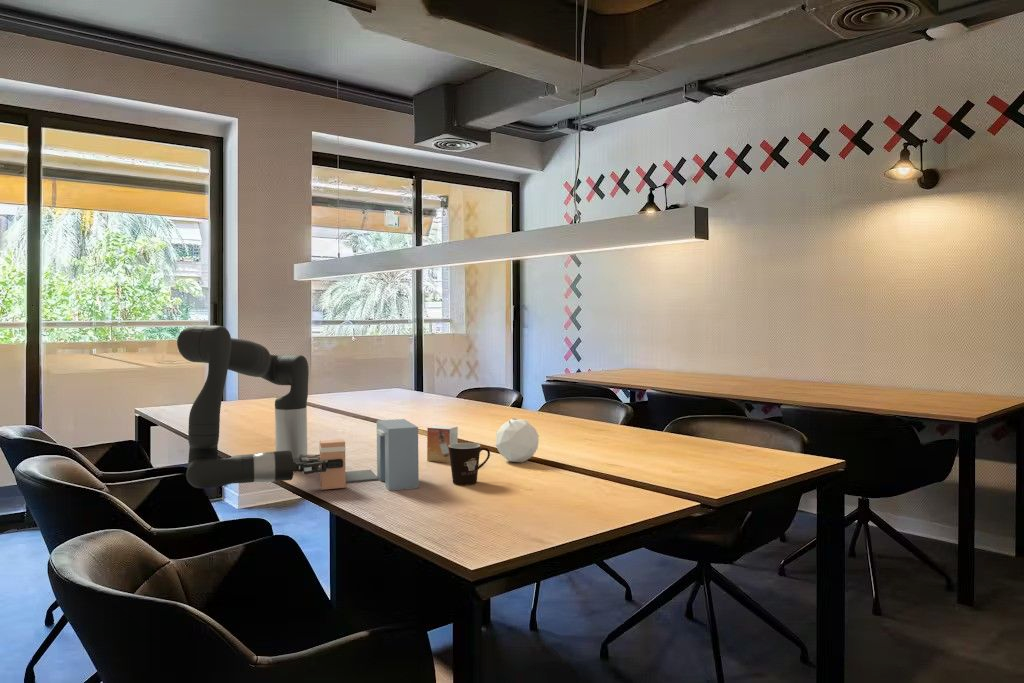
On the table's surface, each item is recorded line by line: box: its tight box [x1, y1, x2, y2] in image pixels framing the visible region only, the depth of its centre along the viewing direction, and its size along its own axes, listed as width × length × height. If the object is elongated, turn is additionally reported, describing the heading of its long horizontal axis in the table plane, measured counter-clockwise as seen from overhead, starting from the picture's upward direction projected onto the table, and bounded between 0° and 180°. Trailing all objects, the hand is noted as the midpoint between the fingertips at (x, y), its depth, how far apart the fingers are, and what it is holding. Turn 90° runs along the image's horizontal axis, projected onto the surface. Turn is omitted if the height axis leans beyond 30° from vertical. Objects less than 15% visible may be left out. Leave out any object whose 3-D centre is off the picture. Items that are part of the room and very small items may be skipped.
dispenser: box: [376, 418, 420, 492], centre depth 195 cm, size 16×9×16 cm, turn 21°
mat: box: [346, 469, 380, 484], centre depth 202 cm, size 12×11×1 cm
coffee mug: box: [449, 442, 491, 486], centre depth 195 cm, size 12×9×10 cm
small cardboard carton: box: [319, 438, 347, 491], centre depth 189 cm, size 4×6×12 cm
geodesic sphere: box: [495, 417, 540, 463], centre depth 222 cm, size 14×14×14 cm
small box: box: [426, 425, 459, 464], centre depth 225 cm, size 8×6×10 cm
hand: (341, 461), depth 190 cm, fingers closed on small cardboard carton, 4 cm apart
